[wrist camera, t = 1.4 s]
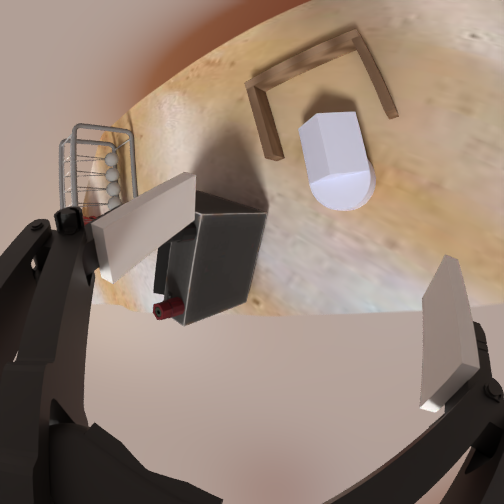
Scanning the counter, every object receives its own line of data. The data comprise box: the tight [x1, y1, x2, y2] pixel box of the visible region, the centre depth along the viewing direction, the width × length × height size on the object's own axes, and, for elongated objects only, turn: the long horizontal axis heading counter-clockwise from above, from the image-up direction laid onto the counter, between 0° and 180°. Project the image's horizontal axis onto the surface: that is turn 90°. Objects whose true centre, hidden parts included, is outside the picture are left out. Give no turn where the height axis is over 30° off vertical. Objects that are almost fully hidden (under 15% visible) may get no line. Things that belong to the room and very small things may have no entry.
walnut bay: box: [245, 29, 399, 161], centre depth 41 cm, size 21×14×4 cm
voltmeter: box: [153, 191, 267, 326], centre depth 49 cm, size 16×16×20 cm
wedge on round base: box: [298, 112, 376, 211], centre depth 40 cm, size 9×7×13 cm
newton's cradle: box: [59, 123, 138, 222], centre depth 68 cm, size 30×10×18 cm, turn 9°
